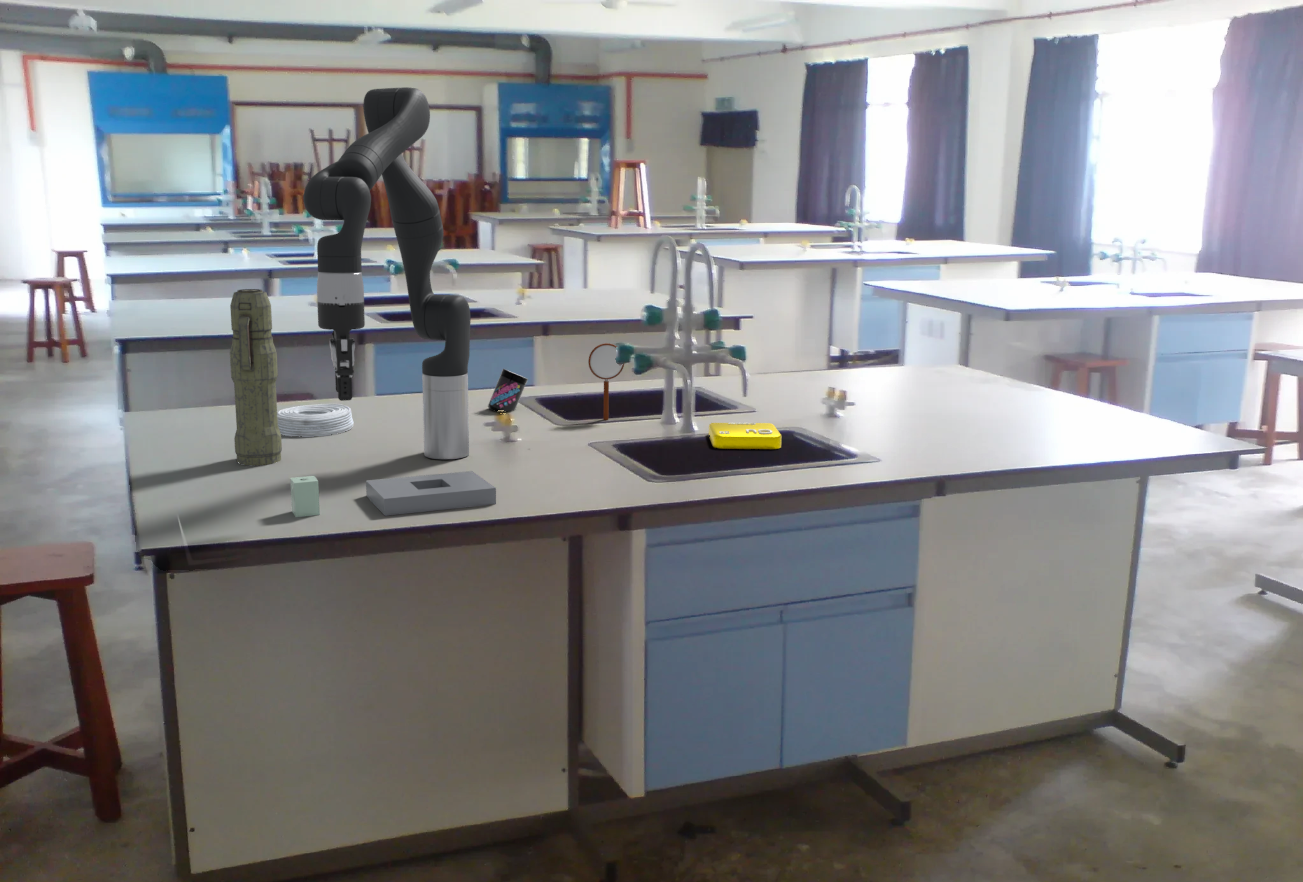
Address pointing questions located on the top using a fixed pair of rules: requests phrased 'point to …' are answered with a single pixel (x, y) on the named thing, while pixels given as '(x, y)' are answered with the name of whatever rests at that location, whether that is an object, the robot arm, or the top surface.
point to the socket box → (430, 492)
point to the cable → (315, 420)
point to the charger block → (305, 496)
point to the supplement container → (507, 391)
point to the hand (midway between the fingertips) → (343, 396)
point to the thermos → (254, 379)
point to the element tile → (744, 436)
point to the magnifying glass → (604, 368)
